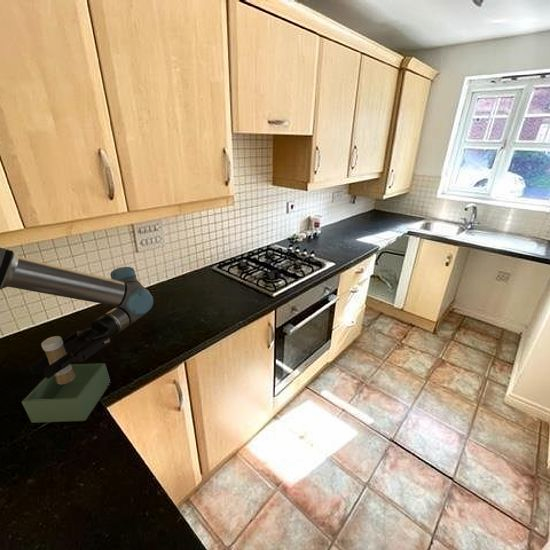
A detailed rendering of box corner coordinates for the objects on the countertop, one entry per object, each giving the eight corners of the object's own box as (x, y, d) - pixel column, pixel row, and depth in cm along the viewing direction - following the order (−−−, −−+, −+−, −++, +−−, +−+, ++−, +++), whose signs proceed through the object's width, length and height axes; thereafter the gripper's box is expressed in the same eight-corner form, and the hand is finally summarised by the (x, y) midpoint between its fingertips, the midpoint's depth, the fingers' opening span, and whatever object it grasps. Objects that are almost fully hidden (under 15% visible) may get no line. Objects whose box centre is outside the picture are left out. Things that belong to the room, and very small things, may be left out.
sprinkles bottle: (55, 379, 85) (39, 340, 80) (73, 371, 88) (59, 333, 83) (58, 388, 82) (42, 347, 77) (77, 379, 85) (62, 340, 80)
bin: (31, 422, 82) (21, 401, 79) (64, 383, 95) (57, 364, 92) (85, 420, 82) (77, 399, 79) (111, 382, 95) (105, 362, 92)
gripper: (134, 338, 97) (68, 390, 77) (93, 330, 102) (21, 376, 82) (129, 318, 94) (58, 367, 74) (86, 311, 99) (10, 354, 79)
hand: (39, 372), depth 78 cm, fingers closed on sprinkles bottle, 4 cm apart
